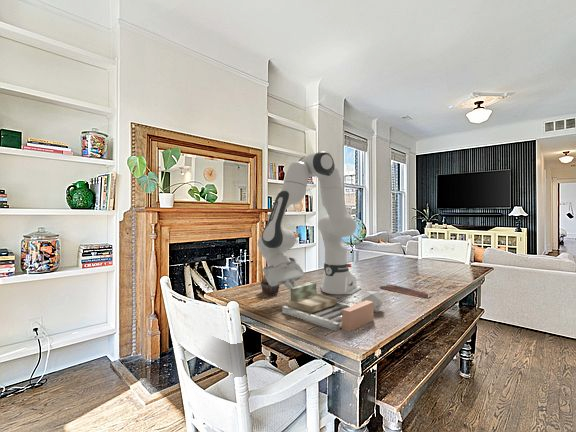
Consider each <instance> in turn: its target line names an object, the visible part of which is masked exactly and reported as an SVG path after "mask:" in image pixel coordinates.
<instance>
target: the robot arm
mask: <svg viewBox="0 0 576 432" xmlns="http://www.w3.org/2000/svg"><path fill="white" fill-rule="evenodd" d="M339 171H340V170H339V169H338V168H337V167H336V165H335V162H334V158H333V156H332V154H331V153H330V152H328V151H318V152H314V153H310V154H308V155H306V156H305V155H304V156H302V157H301V158H299V160H298V161H293V162H291V163H290V164H289V166H288V169H287V171H286V173H285V176H284V180H283V184H282V187H281V190H280V191H279V193H278V194H276V195H277V196H276V198H275V200H274V203H273V205H272V208H271V211H270V213H269V217H268V220H267V223H266V225H265V226H264V228H263V229H262V232H261V236H260V237H259V238H258V240H257V247H258V250H259V252H260V254H261V255H262V257H263V258H264V259H265V261H266V264H267V266H264V267H263V269H262V271H263V273H264V274H265V277H266V279H267V282H268V284H269V285H270V286H276V285H279V286H280V285H284V286H285V287H286V288H287V289H288V290H289V291H290V292H291V288H293V287H297V285H296V282H298V281H301V280H302V279H304V277H305V272H304V271H303V268H302V267H301V266H300V264H299V263H297V259H296V258H294V257H290V256H287V255H285V254H284V253H286V252H287V251H289V250H291V249H292V248H293V247H294V246H295V244H296V241H297V240H296V239H297V237H296V233H294V231H293V230H290V229H289V228H288V229H287V228H284V227H282V224H283V221H284V218H285V215H286V213H287V210H288V208H289V207H290V206H291V205H295V204H298V203H300V202H301V201H302V200H303V199H304V197H305V195H306V192H307V186H308V181H309V178H315V177H316V178H317V180H318V181H319V189H320V197H321V205H322V206H323V207H324V209H325V210H326V213H327V214H326V215H323V216H322V217H320V218H319V219H318V221H317V229H318V230H319V232H320V234H321V236H322V240H323V246H324V263H323V270H324V272H323V273H322V281H321V285H320V289H321V291H322V292H323V293H326V294H330V295H353V294H354V293H356V292H358V291H360V290H362V286H360V285H358V283H357V277H356V276H355V275H354V274H353V273H352V272H351V271H350V270H349V268H350V269H351V268H352V263H347V262H348V257H347V256H348V249H347V247H346V245H345V243H344V241H343V238H349V237H351V236H353V235H354V234H355V232H356V230H357V222H356V220H354V218H353V217H352V216H351V214H350V213H349V211H348V208H347V206H346V202H345V199H344V198H345V197H344V191H343V182H342V178H341V175H340V172H339ZM264 274H263V275H264Z"/></svg>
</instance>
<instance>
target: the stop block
mask: <svg viewBox="0 0 576 432" xmlns="http://www.w3.org/2000/svg"><path fill="white" fill-rule="evenodd" d="M373 309H374V302H372V301H368V300H366V301H363V302H362V301H361V302H359V303H356V304H353V305H352V306H350V307H348V308H345V309H343V310H342V328H341V330H342V331H345V332H348V333H349V332H352V331H354V330H356V329H359V328H360V327H363V326H365V325H366V324H368V323H371V322H373V321H374V312H373Z"/></svg>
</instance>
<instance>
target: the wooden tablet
mask: <svg viewBox="0 0 576 432" xmlns="http://www.w3.org/2000/svg"><path fill="white" fill-rule="evenodd" d="M379 289H382V290H386V291H390V292H394V293H400V294H403V295H408V296H413V297H418V298H422V297H425V298H424V299H428V298H427V297H428V294H429V293H426V292H423V291H419V290H416V289H412V288H407V287H404V286H400V285H394V284H386V285H383V286H382V285H381V286H379Z"/></svg>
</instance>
